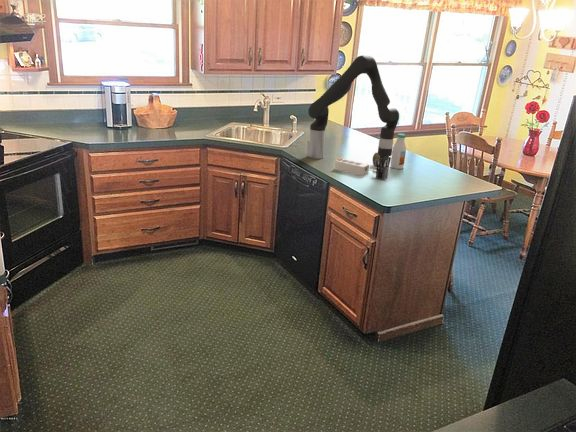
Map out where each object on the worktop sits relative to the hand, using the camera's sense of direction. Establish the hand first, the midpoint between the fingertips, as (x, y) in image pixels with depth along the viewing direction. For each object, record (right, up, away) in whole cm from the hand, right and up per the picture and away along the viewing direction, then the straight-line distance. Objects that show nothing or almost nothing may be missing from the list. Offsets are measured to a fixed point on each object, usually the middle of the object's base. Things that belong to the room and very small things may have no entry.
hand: (381, 176), depth 273 cm
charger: (-1, 0, +1) cm, 1 cm away
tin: (+3, +7, +20) cm, 21 cm away
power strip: (-15, +4, +10) cm, 19 cm away
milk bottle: (+13, +7, +23) cm, 27 cm away
